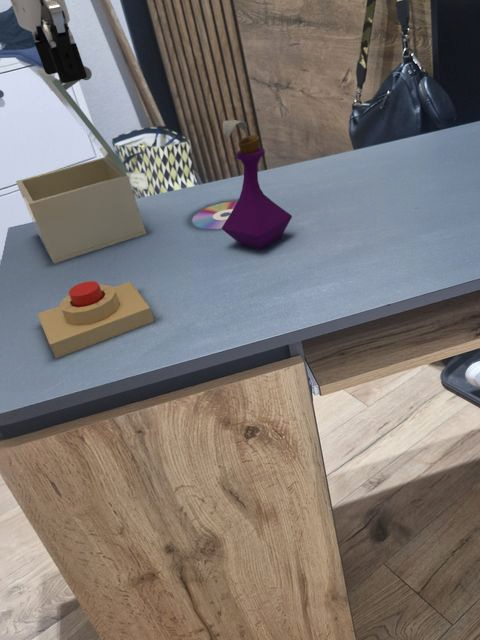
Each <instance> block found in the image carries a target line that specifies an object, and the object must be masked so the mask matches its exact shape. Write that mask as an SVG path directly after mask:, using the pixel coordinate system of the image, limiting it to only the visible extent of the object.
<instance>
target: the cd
mask: <svg viewBox="0 0 480 640" xmlns="http://www.w3.org/2000/svg"><path fill="white" fill-rule="evenodd" d="M237 202H238V200H237V201H236V200H234V201H227V202H220V203H217V204H214V205H210V206H208V207H205V208H203V209H202V210H201V209H200V211H198V212H197V213H195V214H194V215H193V217H192V219H191V223H192V224H193V226H194V227H197V228H198V229H199V228H200V229H203V230H220V229H221V230H222V227H223V225H224V223H225V222H226V220H227V219H228V217H229V216H230V214H231V212H232V211H233V209H234V207H235V205H236V203H237ZM226 213H228V214H229V215H226V216H221V215H223V214H226Z"/></svg>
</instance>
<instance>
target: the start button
mask: <svg viewBox="0 0 480 640" xmlns="http://www.w3.org/2000/svg"><path fill="white" fill-rule="evenodd" d="M99 285H100V284H99V282H97V281H93V280H90V281H84V282H81V283H78V284H76V285H74V286H72V287H71V288H70V289H69V290H68V295H70V298H71V300H72V302H73V305H74V306H75V307H86V306H89V305H92V304H95V303H97V302H99V301H100V300H102V299H103V297H104V296H103V293H102V291H101V288H100V286H99Z"/></svg>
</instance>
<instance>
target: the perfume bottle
mask: <svg viewBox="0 0 480 640" xmlns="http://www.w3.org/2000/svg"><path fill="white" fill-rule="evenodd" d="M236 126H238V127H239V128H240V129H241V130H243V132H244V133H245V137H243V138H241V139H240V140H239V142H238V147H239V150H238V151H237V152H236V155H235V158H236V159H237V160H239V161H240V162H241V163H242V165H243V181H242V186H241V192H240V195H239V197H238V199H237V201H238V202H237V203H236V205H235V207H234V209H233V211H232V212H231V213H229V215H230V216H229V215H228V216H229V217H228V219H227V220H226V222H225V223H224V225H223V227H222V228H221V230H222V231H224V232H225V233H226V234H227V235H229V237H231V238H232V239H233V240H235V241H236V242H237V243H238V244H239V245H240V246H243V247H248V248H251V249H256V250H265V249H266V248H268V247H269V246H271V245H273V244H274V243H275V242H278V240H280V239H282V236H283V235H284V232H285V231H286V229H287V227H288V225H289V223H290V222H291V220H292V218H293V216H292V214H290V213H289V212H288V211H287V210H285V209H283V207H281V206H279V205H278V204H277V203H276V202H274V201H273V200H271V198H269V197H268V196H266V195H265V193H264V192H263V190H262V189H261V186H260V183H259V175H258V173H259V172H258V169H259V163H260V161H261V158H262V157H263V156H265V153H266V151H265V148H263V147H260V146H259V145H260V144H259V143H260V136H259V135H256V134H251V135H249V134H248V125H247V123H246V122H244V121H240V120H237V119H229V120H228V119H227V120H224V121H223V122H222V133H223V136H224V137H225V139H226V140H227V141H229V140H230V137H231V134H232V132H233V130H234V128H235V127H236Z"/></svg>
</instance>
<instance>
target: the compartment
mask: <svg viewBox="0 0 480 640" xmlns="http://www.w3.org/2000/svg"><path fill="white" fill-rule="evenodd" d="M15 183H16V185H17V188H18V190H19V192H20V194H21V197H22V199H23V201H24V204H25V206H26V209H27V211H28V214H29V215H30V218H31V220H32V222H33V225H34V227H35V229H36V232H37V234H38V237H39V238H40V241H41V243H42V244H43V246H44V248H45V250H46V252H47V254H48V255H49V257H50V260H51V261H52V263H53V264H58V263H60V262H63V261H67V260H70V259H73V258H76V257H79V256H82V255H85V254H88V253H92V252H95V251H97V250H101V249H103V248H107V247H110V246H114V245H116V244H119V243H122V242H125V241H128V240H131V239H135V238H137V237H141V236H144V235H147V230H146V228H145V224H144V221H143V218H142V215H141V212H140V210H139V209H140V208H139V207H138V204H137V200H136V196H135V194H134V190H133V187H132V184H131V182H130V178H129V175H127V173H126V174H124V173H123V172H122V171H121V170H119V169H118V168H117V167H116V166H115V165H114V164H113V163H112V162H111V161H109V160H108V159H107V158H106V157H105V156H104V157H100V158H97V159H93V160H89V161H86V162H81V163H78V164H75V165H70V166H67V167H63V168H60V169H55V170H53V171H48V172H45V173H41V174H37V175H34V176H30V177H26V178H21V179H19V180H16V181H15Z"/></svg>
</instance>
